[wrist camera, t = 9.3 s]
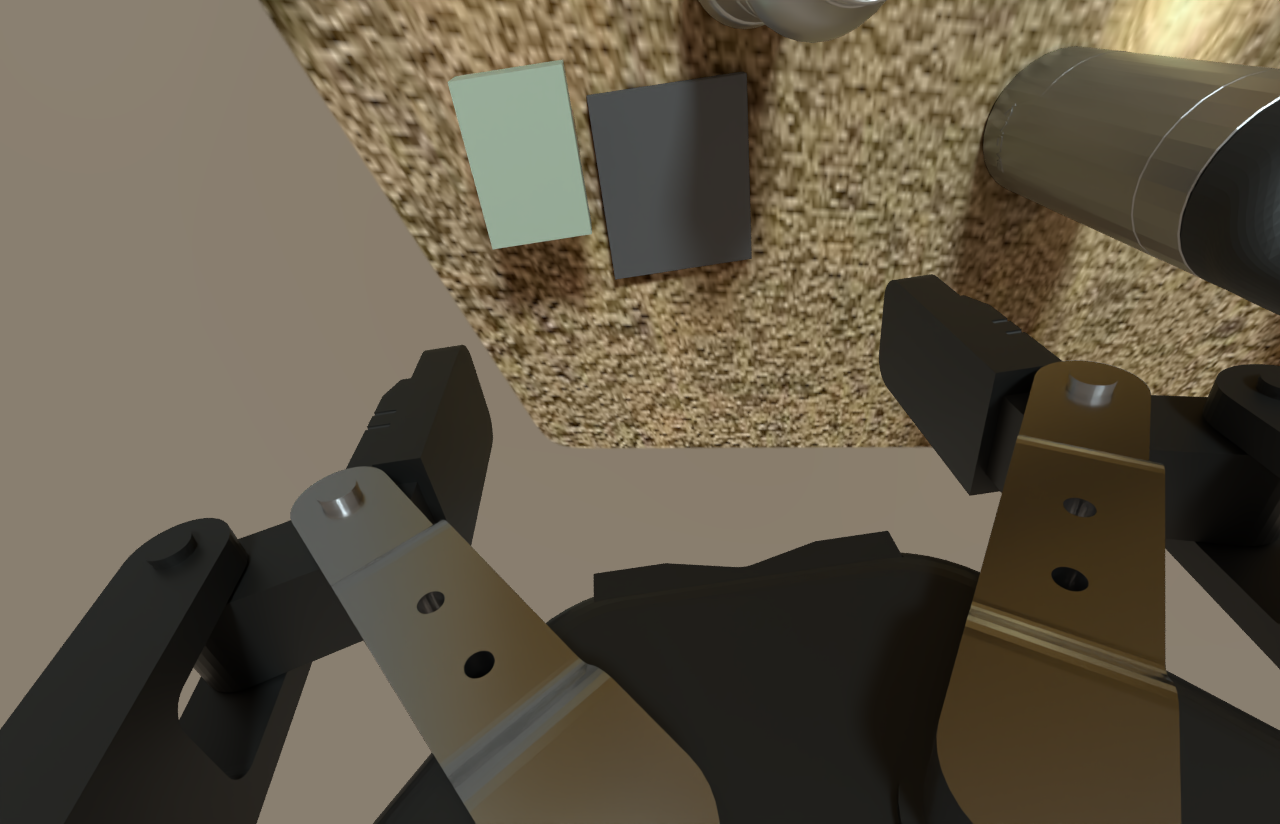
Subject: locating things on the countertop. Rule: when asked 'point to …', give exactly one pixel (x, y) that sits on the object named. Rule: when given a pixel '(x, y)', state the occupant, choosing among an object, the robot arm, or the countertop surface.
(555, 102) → the block
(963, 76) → the countertop surface
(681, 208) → the mat
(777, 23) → the plastic bottle
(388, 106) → the countertop surface
